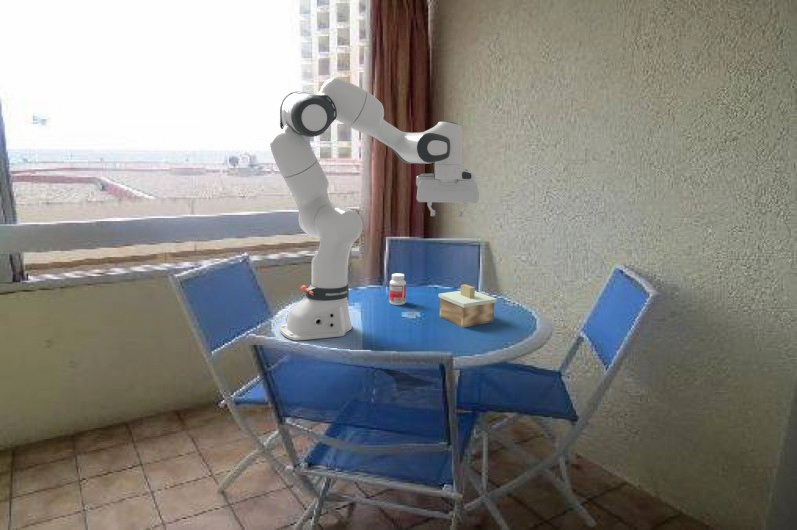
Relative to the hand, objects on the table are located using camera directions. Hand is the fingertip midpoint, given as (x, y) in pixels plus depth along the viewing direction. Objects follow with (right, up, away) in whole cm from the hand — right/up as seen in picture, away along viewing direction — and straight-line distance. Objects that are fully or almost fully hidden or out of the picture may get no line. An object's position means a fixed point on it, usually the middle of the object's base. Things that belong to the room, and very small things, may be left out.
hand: (447, 216), depth 169 cm
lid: (+7, -28, +5) cm, 29 cm away
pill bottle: (-16, -31, +24) cm, 42 cm away
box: (+7, -35, +6) cm, 36 cm away
